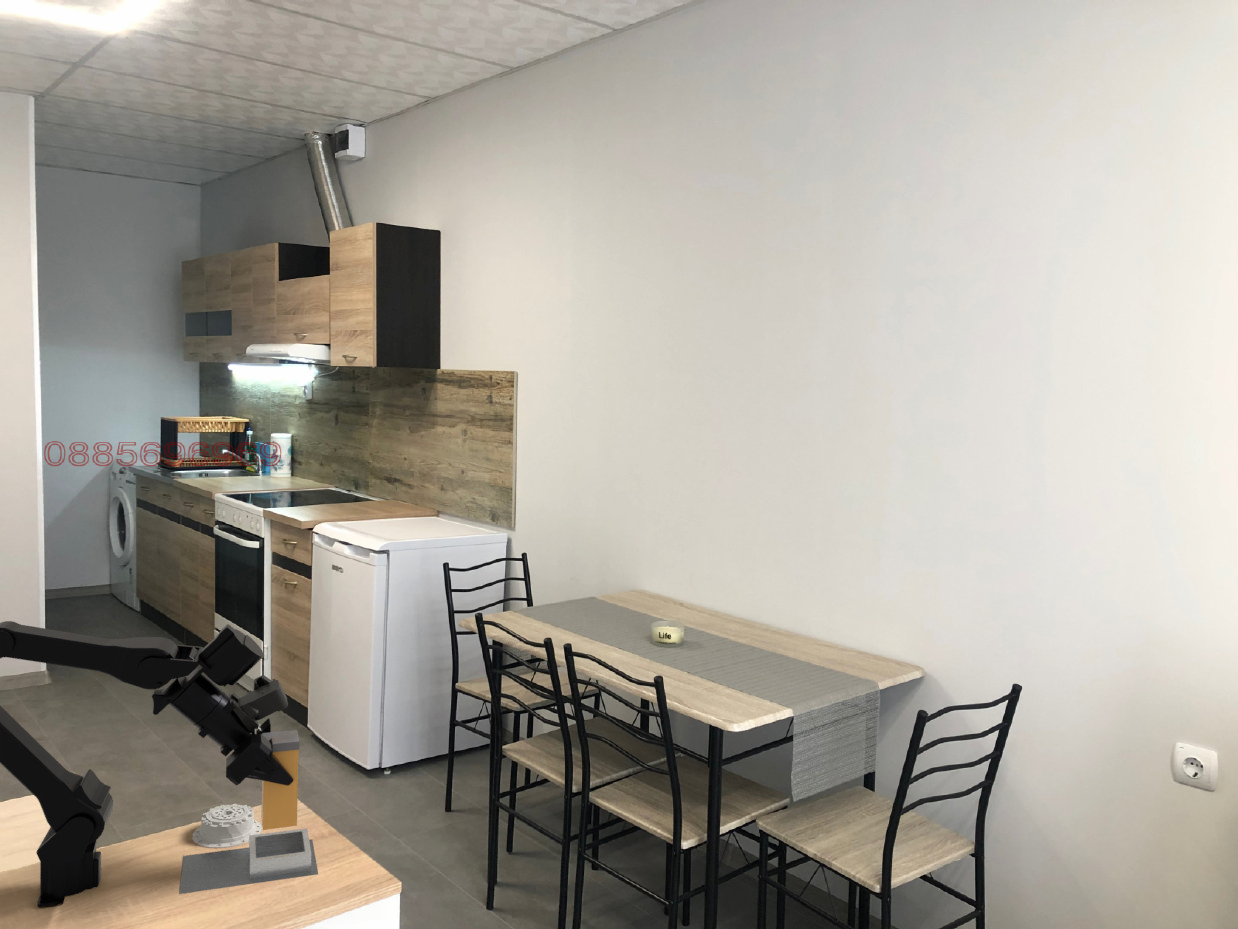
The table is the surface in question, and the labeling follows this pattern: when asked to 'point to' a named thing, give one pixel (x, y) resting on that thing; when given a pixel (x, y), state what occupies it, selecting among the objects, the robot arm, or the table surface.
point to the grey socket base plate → (251, 862)
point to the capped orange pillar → (278, 797)
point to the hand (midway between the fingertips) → (290, 776)
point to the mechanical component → (227, 826)
